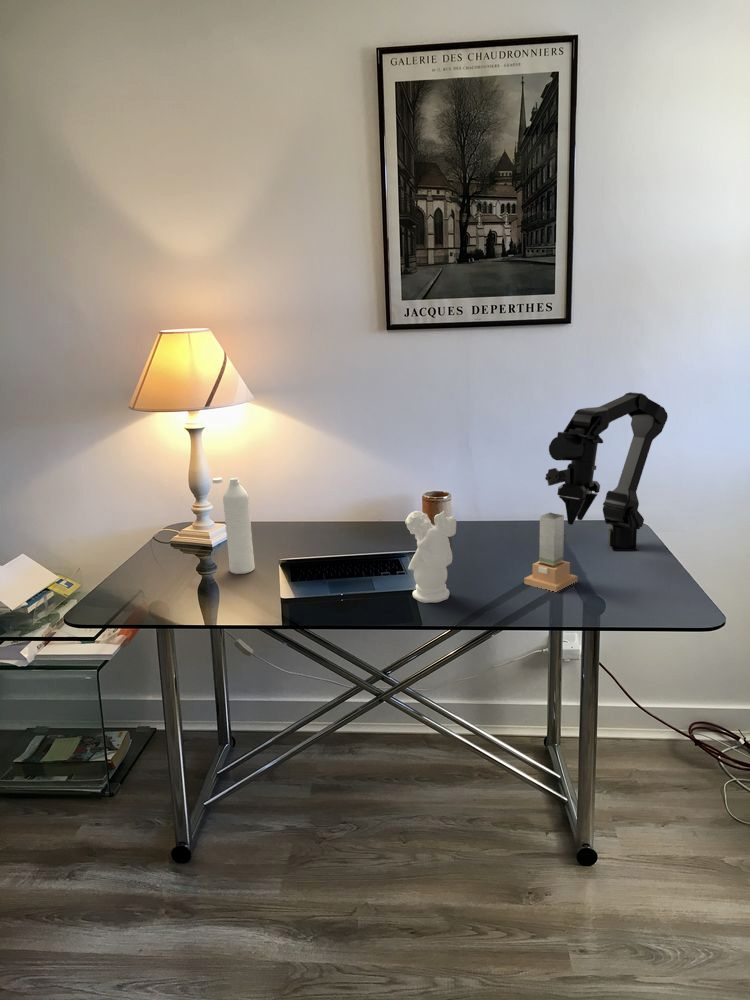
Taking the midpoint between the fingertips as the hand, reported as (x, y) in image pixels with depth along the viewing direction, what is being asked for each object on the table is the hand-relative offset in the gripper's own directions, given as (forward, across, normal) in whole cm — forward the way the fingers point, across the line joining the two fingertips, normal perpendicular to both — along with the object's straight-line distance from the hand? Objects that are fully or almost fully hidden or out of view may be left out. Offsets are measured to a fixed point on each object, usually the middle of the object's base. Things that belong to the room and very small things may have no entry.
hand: (575, 522), depth 199 cm
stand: (+14, +12, -1) cm, 18 cm away
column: (+8, +13, -1) cm, 15 cm away
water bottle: (+23, +33, -78) cm, 88 cm away
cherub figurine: (+18, +29, -23) cm, 41 cm away
